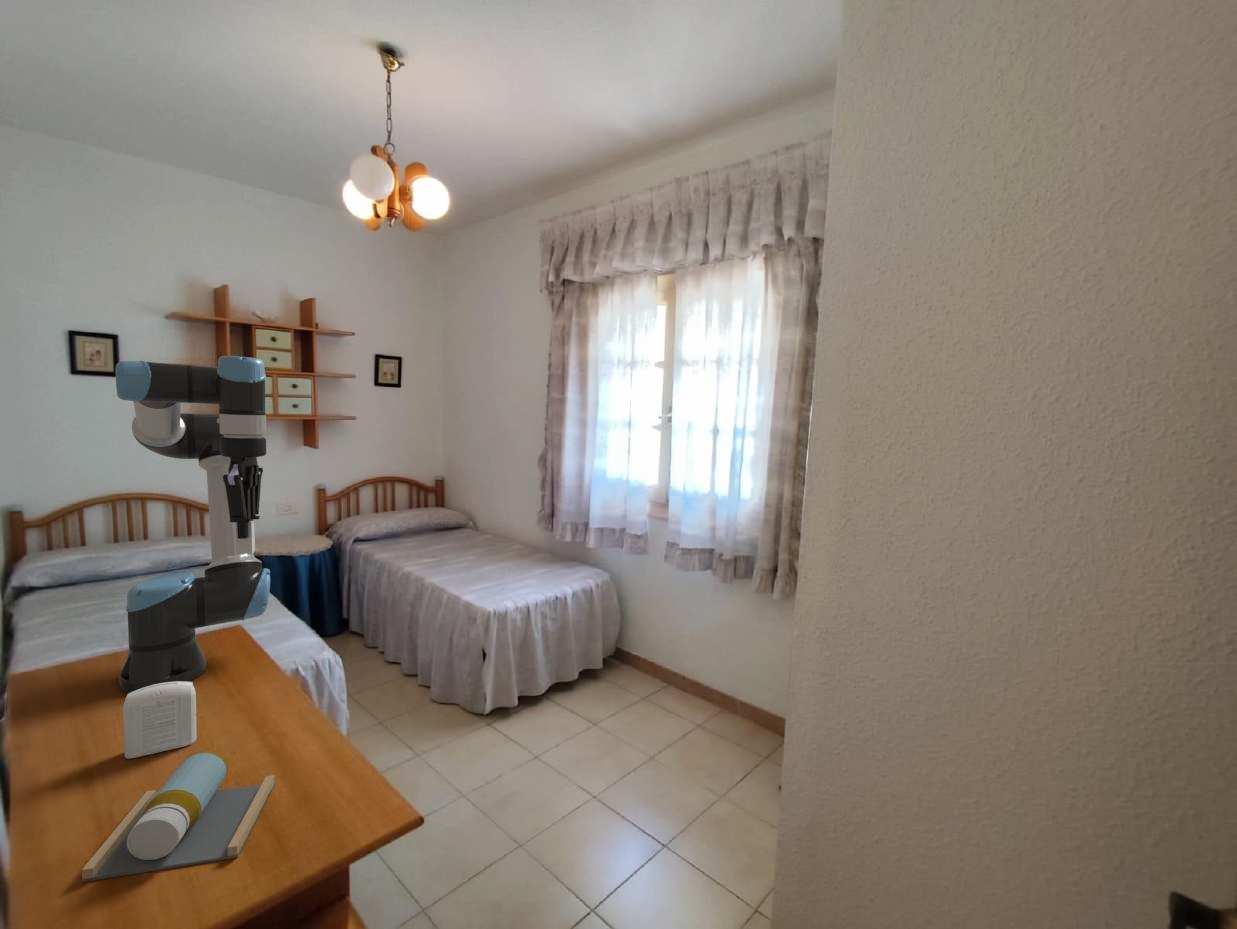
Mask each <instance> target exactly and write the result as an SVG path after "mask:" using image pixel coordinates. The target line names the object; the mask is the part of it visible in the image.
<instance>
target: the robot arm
mask: <svg viewBox="0 0 1237 929" xmlns="http://www.w3.org/2000/svg"><path fill="white" fill-rule="evenodd" d="M266 379H267V374H266V370H265V362H264V361H263V360H262V359H260V358H257V357H256V358H255V357H249V356H248V357H247V356H239V355H221V356H219V358H218V360H217V366H205V365H203V366H202V365H191V364H190V365H189V364H177V363H168V362H167V363H166V362H155V361H154V362H153V361H145V360H139V361H137V360H136V361H135V360H121V361H119V362H117V364H115V388H116V396H117V397H118V398H119V399H120V400H122V401H131V402H133V408H134V413H135V416H134V418H133V420H132V421H131V430H132V434H133V437H134V438H135V440H136V442H138V443H139V444H140V445H141V446H142V447H144V448H145V449H147V450H149V451H150V452H153V453H155V454H159V455H161V456H163V457H168V458H171V459H172V458H173V459H177V460H178V459H180V460H198V466H199V467H200V468H201V469H203V470H204V471H206V482H207V499H208V515H209V516H208V517H209V532H210V533H209V534H210V547H211V548H210V550H211V562H210V563H209V565H207V566H206V567H205V568H204V576H202V577H201V576H200V577H195V575H194V574H193V573H192V572H190V571H189V572H188V571H183V572H180V571H178V572H177V571H176V572H169V573H165V574H160V575H156V576H153V577H150V578H147V579H145V580H142V581H141V582H138V583H136V584H134V585H133V586H132V587H131V588H130V589H129V590H128V592H127V595H126V596H127V598H126V606H125V612H127V628H128V629H127V632H128V653H127V655H126V657H125V659H124V663H123V667H122V669H121V671H120V674H119V678H118V679H119V688H120V690H122V691H124V692H127V693H131V692H133V691H136V690H138V689H141V688H144V687H147V686H151V685H155V684H159V683H165V682H176V681H185V682H192V681H193V680H194V679H196V678H198V677H200V676H201V675H202V674H203V673H204V672H205V671H206V667H207V666H206V664H207V662H206V656H205V655H204V653H203V650H202V648H201V646H200V644H199V642H198V641H197V638H196V629H197V628H198V629H199V628H204V627H210V626H214V625H220V624H226V623H227V624H228V623H232V622H237V621H245V620H248V619H253V618H256V617H260V616H263V614H264V613H266V611H267V608H268V605H269V598H270V590H271V570H270V568H263V562H262V561H261V560H260V559H258V558H256V557H255V552H256V542H255V540H256V539H255V538H256V536H255V535H256V534H255V533H256V532H255V520H260V518H261V516H260V515H259V512H260V502H261V501H260V500H261V499H260V498H261V488H262V487H261V485H262V484H261V483H262V477H263V472H264V469H263V467H260V466H259V465H258V458H260V457H264V456H266V455H267V439H266V437H264V436H265V435H266V434H267V414H266ZM182 404H206V405H207V404H209V405H218V414H214V413H212V414H211V413H182V412H181V406H182Z"/></svg>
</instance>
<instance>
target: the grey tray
mask: <svg viewBox="0 0 1237 929" xmlns="http://www.w3.org/2000/svg"><path fill="white" fill-rule="evenodd" d="M274 786H275V775H267V776H265V777H264V779H263V780H262V783H261V784H256V785H249V786H242V787H241V786H240V787H233V788H225V789H218V790H217V791H216V793H215V794H214V796H213V797H212V799H211V800H210V802H209V803H208V805H207V806H206V808H205V809H204V811H203V812H202V814H201V815H200V817H199V818H198V820H197V821H196V822H195V824H194V825H193V826H192V827H191V828H190V829H189V830H187V831H186V832H185V834H184V835H183V837H182V838H181V840H180V841H179V843H178V844H177V846H176V847H175V848H174V849H173V850H172V851H171V852H170V853H169V854H167V855H166V856H164V857H161V858H158V859H154V860H144V859H140V858H137V857H135V856H134V855H132V854H131V853H130V851H129V850H128V848H127V838H128V835H129V833H130V831H131V830H132V828H133V827H134V826H135V825H136V823H137V822H138V821H139V820H140V819H141V817H142V816H143V813H144V811H145V808H146V807H147V806H148V804H149V803H150V801H151V800H152V799H153V798H154V797H155V795H156V794H157V790H156V789H153V790H147V791H146V792H145V793H144V794H143V795H142V796H141V797H140V799H139V800H138V801H137V802H136V804H135V805H134V806H133V807H132V809H131V810H130V811H129V813H127V815H126V816H125V817H124V818H123V820H121V822H120V823H119V824H118V825H117V827H116V828H115V829H114V830H113V831H112V833H110V835H109V836H108V837H107V838H106V840H105V841H104V843H103V844H102V845H101V846H100V847H99V848H98V850H97V851H96V852H95V853H94V854H93V856H92V857H90V859H89V860H88V862H87V863H86V864H85V865H84V866H83V867H82V868H81V879H82V880H81V881H82V883H85V882H92V881H93V882H94V881H98V880H99V881H100V880H103V879H104V880H105V879H111V878H117V877H124V876H129V875H135V874H143V873H148V872H154V871H160V870H167V869H174V868H180V867H188V866H192V865H199V864H205V863H212V862H217V861H223V860H230V859H236V858H238V857H239V856H240V854H241V851H242V850H243V847H244V845H246V844H245V843H246V842H247V840H248V838H249V836H250V835H251V832H252V830H253V828H254V826H255V824H256V822H257V820H258V818H259V817H260V815H261V812H262V810H263V808H264V806H265V805H266V802H267V800H268V799H269V796H270V794H271V792H272V790H273V788H274Z"/></svg>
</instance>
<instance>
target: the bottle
mask: <svg viewBox="0 0 1237 929" xmlns="http://www.w3.org/2000/svg"><path fill="white" fill-rule="evenodd" d="M228 772H229V765H228V762H227V760H226V758H225V757H224V756H223V755H222V754H220V753H218V752H216V751H211V750H201V751H196V752H195V753H191V754H190V755H188V756H187V757H186V758H185V759H184V760H183V761H182V762H181V763H180V764H179V766H178V767H177V768H176V769H175V771H174V772H173V773H172V774H171V775H170V777H169V778H168V779H167V780H166V782H165V783H164V784H163V786H162V787H161V788H160V789H159V790H158V791H157V792H156V795H155V797H154V798H153V799H152V800H151V801H150V803H149V804H148V806H147V807H146V808H145V811H144V813H143V816H142V817H141V819H140V820H139V821H138V822H137V823H136V825H135V826H134V827H133V828H132V830H131V831H130V833H129V835H128V838H127V848H128V850H129V851H130V853H131V854H132V855H134V856H135V857H137V858H140V859H144V860H154V859H158V858H161V857H164V856H166V855H167V854H169V853H170V852H171V851H172V850H173V849H174V848H175V847H176V846H177V844H178V843H179V841H180V840H181V838H182V837H183V835H184V834H185V832H186V831H187V830H189V829H190V828H191V827H192V826H193V825H194V824H195V822H196V821H197V820H198V818H199V817H200V815H201V814H202V812H203V811H204V809H205V808H206V806H207V805H208V803H209V802H210V800H211V799H212V797H213V796H214V794H215V793H216V791H217V790H219V788H220V787H221V786H222V783H223V782H224V780H225V778H227V775H228Z"/></svg>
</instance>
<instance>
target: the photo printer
mask: <svg viewBox="0 0 1237 929" xmlns="http://www.w3.org/2000/svg"><path fill="white" fill-rule="evenodd" d="M196 694H197V692H196V688H195V687H194V683H193V681H189V682H185V681H176V682H165V683H159V684H155V685H151V686H147V687H144V688H141V689H138V690H136V691H133V692H131V693H130V692H128V693H127V695H126V697H125V701H124V702H123V706H122V716H123V717H122V719H123V720H122V721H123V751H124V756H123V757H124V758H126V759H128V760H130V759H135V758H140V757H144V756H148V755H153V754H157V753H158V754H159V753H162V752H166V751H170V750H175V749H179V748H182V747H187V746H190V745H192V744H194V743H195V742H196V741H197V697H196V696H197V695H196Z"/></svg>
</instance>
